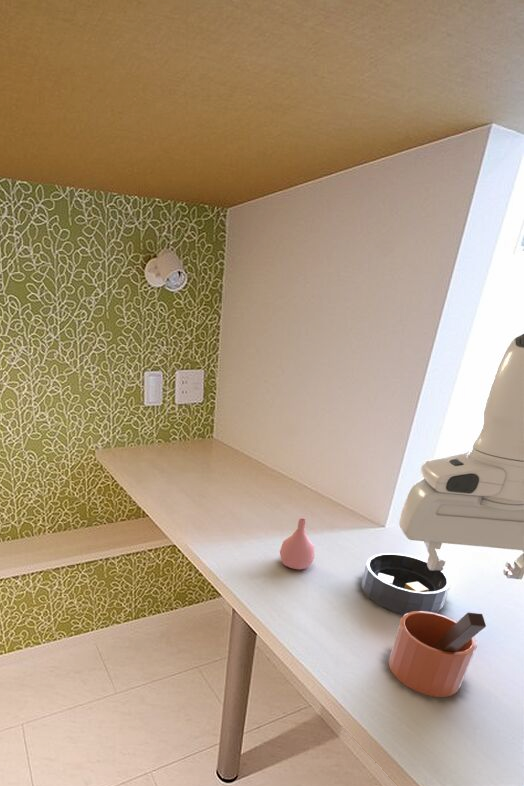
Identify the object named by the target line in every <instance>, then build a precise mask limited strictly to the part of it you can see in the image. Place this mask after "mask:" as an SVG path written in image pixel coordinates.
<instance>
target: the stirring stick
mask: <svg viewBox="0 0 524 786" xmlns="http://www.w3.org/2000/svg"><path fill="white" fill-rule="evenodd" d="M486 626H487V625H486V622H485V617H484V615H483V613H478V612H467V613H466V614H464V615H463V616H462V617H461V618H460V619H459V620H458V621H457V623H456V624H455V625H454V626H453V627H452V628H451V629H450V630H449V631H448V632H446V633H445V634H444V635H443V636H442V637H441V638H440V639H439V640H438V641H437V642H436V643H435V644H434V645H433V646H432V648H435V649H438V650H441V651H447V652H456V651H457V650H458V649H459V648H460V647H462V646H463V645H464V644H465V643H467V642H468V641H469V640H470V639H471V638H473V637H475V636H476V635H477V634H479V633H480V632H481V631H482V630H484V629H485V628H486Z"/></svg>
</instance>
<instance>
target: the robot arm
mask: <svg viewBox="0 0 524 786" xmlns="http://www.w3.org/2000/svg"><path fill="white" fill-rule="evenodd" d="M488 387H489V388H488V390H487V394H486V396H485V400H484V403H483V406H482V411H481V415H482V420H481V425H480V429H479V431H478V433H477V434H476V435H475V437H474V439H473V441H472V442H471V445H470V449H469V450H467V451H465V452H460V453H456V454H452V455H447V456H443V457H438V458H432V459H428V460H426V461H424V462H423V463H422V464H421V467H420V468H421V469H420V474H421V476H422V479H420V480H418V481H417V482H415V484H413V486H412V487H411V488H410V490H409V492H408V494H407V497H406V499H405V502H404V504H403V507H402V509H401V513H400V517H399V523H398V524H399V528H400V531H401V532H402V534H404V536H405V537H406V538H407V539H408V540H410V541H415V542H417V541H419V542H423V543H424V545H425V547H426V550H427V553H428V558H427V560H426V561H427V566H428V568H429V570H434V571H443V572H444V567H445V564H446V561H447V560H445V558H444V557H443V555H442V554H438V553H437V551H436V550H440V549H441V547H442V544H449V545H461V546H471V547H481V548H490V549H491V548H493V549H502V550H515V551H522V552H523V553H522V554H521V555H519V556H518V557H517V558H516V559H515V560H514V561H508V560H507V561H506V562H505V567H504V568H503V575H504V576H506V579H510V580H511V579H512V580H522V579H523V578H524V333H522V334H521V335H518V336H516V337H515V338H514V339H513V340H512V341H511V342H510V343H509V345H508V346H507V348H506V350H505V351H504V353H503V355H502V357H501V359H500V360H499V363H498V365H497V367H496V369H495V372H494V374H493V377H492V379H491V382H490V385H489V386H488Z"/></svg>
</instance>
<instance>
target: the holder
mask: <svg viewBox="0 0 524 786" xmlns="http://www.w3.org/2000/svg"><path fill="white" fill-rule="evenodd" d="M457 622H458V621H457V620H455V619H453V618H451V617H448V616H446V615H444V614H440V613H433V612H426V611H413V612H410V613H407V614H403V616H402V617H401V618H400V621H399V623H398V628H397V630H396V635H395V638H394V641H393V644H392V647H391V651H390V654H389V658H388V666H389V669H390V671H391V673H392V674H393V676H394V677H395V678H396V679H397V680H398V681H399V682H401V683H402V684H403V685H405V686H406V687H408V688H410V689H411V690H413V691H415V692H416V693H420V694H423V695H425V696H430V697H435V698H447V697H451V696H453V695H456V693H458V691H459V690H460V689H461V686H462V684H463V682H464V679H465V677H466V674H467V673H468V669H469V666H470V665H471V662H472V660H473V657H474V654H475V652H476V650H477V647H478V645H477V639H476V637H475V636H474V637H473V638H471V639H470V640H469V641H468V642H467V643H465V644H464V645H463V646H462V647H460V648H459V649H458V650H457V651H456V652H447V651H441V650H438V649H435V648H432V646H433V645H434V644H435V643H436V642H437V641H438V640H439V639H440V638H441V637H442V636H443V635H444V634H445V633H446V632H448V631H449V630H450V629H451V628H452V627H453V626H454V625H455V624H456V623H457Z"/></svg>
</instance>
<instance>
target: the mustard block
mask: <svg viewBox="0 0 524 786" xmlns="http://www.w3.org/2000/svg"><path fill="white" fill-rule="evenodd" d="M404 589H407V590H410V591H418V592H428V591H429V589H428V588H426V587H425V586H423V585H422V584H421V583H419V582H418V581H417V582H411V583H406V584H405V587H404Z"/></svg>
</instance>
